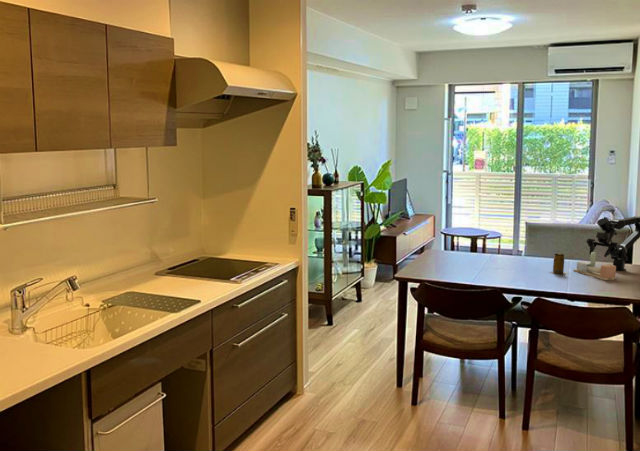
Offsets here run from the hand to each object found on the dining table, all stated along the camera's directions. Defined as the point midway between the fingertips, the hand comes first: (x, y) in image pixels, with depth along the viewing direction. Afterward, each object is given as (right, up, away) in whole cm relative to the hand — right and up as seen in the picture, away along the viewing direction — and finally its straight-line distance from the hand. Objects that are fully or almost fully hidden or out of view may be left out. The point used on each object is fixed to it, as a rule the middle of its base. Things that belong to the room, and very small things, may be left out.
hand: (597, 255), depth 382 cm
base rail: (-3, -12, -3) cm, 12 cm away
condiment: (-23, -11, +1) cm, 25 cm away
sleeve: (-6, -10, +4) cm, 12 cm away
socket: (+1, -12, -12) cm, 17 cm away
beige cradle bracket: (-4, -9, 0) cm, 10 cm away
